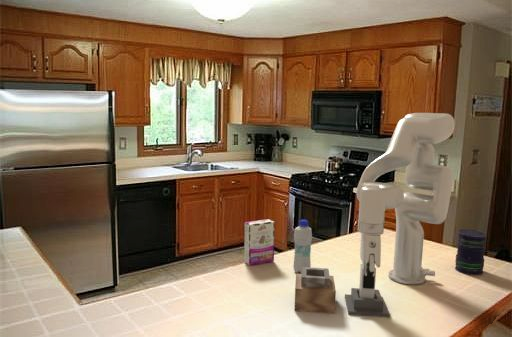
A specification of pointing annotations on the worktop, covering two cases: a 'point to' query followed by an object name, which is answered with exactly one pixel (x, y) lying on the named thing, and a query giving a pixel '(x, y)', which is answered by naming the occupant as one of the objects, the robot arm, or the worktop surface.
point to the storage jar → (470, 252)
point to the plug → (364, 291)
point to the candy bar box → (259, 242)
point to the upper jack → (315, 291)
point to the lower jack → (366, 304)
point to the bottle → (302, 246)
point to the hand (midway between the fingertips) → (367, 284)
